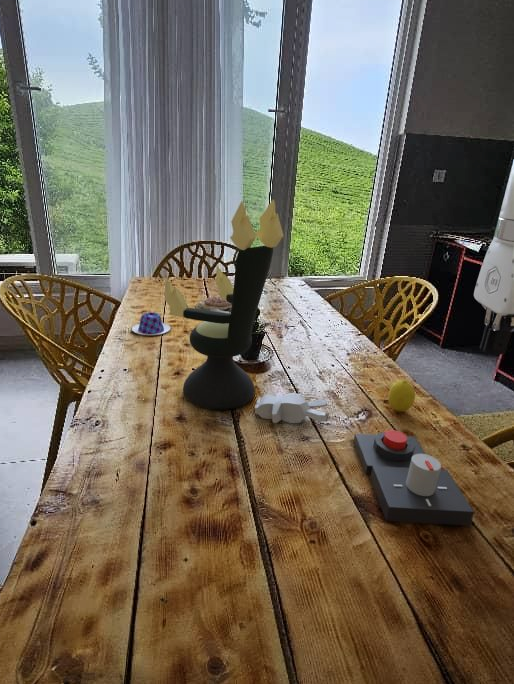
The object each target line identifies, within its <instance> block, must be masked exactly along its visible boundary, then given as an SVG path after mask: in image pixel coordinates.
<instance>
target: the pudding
mask: <svg viewBox="0 0 514 684" xmlns="http://www.w3.org/2000/svg"><path fill="white" fill-rule="evenodd" d="M131 330H132V332H133V333H135V334H138V335H142V336H158V335H163V334H166V333H168V332H169V331H170V330H171V326H170V325H169V324H167V323H165V322H163V320H162V317H161V314H160V313H158V312H157V313H156V312H153V311H151V312H150V311H149V312H144V313H142V315H141V316H140V320H139V323H137V324H134V325H133V326H132V327H131Z"/></svg>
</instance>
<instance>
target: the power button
mask: <svg viewBox="0 0 514 684" xmlns="http://www.w3.org/2000/svg"><path fill="white" fill-rule="evenodd" d="M384 432H385V434H384V439H383V443H384V445H386V446H387V447H389V448H392V449H395V450H403V449H405V447H406V443H407V437H406V436H407V435H406V434H405V433H403V432H401V431H399V430H396V429H395V430H394V429H389V430H386V431H384Z"/></svg>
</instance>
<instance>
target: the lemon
mask: <svg viewBox="0 0 514 684" xmlns="http://www.w3.org/2000/svg"><path fill="white" fill-rule="evenodd" d="M387 399H388V401H387V402H388V404H389V405H390V407H391V408H392V409H393V410H394V411H396V412H397V413H401V412H406V411H408V410H409V409H411V408H412V407H413V405H414V403H415V399H416V390H415V387H414V386H413V385H412V384H411V383H410V382H409V381H407V379H403V380H398V381H396V382H394V383H393V384H392V385H391V386H390V388H389V391H388V394H387Z"/></svg>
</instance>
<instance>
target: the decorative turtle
mask: <svg viewBox="0 0 514 684" xmlns="http://www.w3.org/2000/svg"><path fill="white" fill-rule="evenodd" d="M194 308H196V309H203V310H209V311H216V312H223V313H229V314H230V312H229V311H225V310H227V309H231V308H232V304H231V303H229V302H228V301H226V300H223V299H221V298H220V296H216V295H215V296H210V297H207V298H205V299H203V300H200V302H197V303H195V305H194Z"/></svg>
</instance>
